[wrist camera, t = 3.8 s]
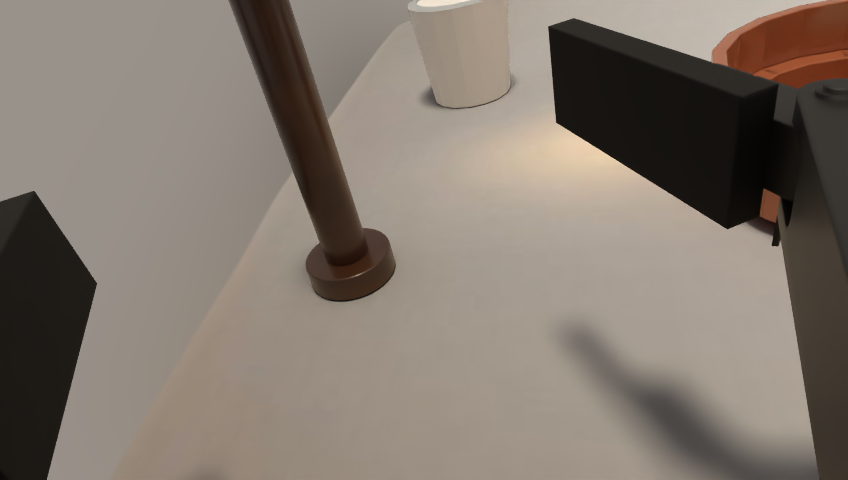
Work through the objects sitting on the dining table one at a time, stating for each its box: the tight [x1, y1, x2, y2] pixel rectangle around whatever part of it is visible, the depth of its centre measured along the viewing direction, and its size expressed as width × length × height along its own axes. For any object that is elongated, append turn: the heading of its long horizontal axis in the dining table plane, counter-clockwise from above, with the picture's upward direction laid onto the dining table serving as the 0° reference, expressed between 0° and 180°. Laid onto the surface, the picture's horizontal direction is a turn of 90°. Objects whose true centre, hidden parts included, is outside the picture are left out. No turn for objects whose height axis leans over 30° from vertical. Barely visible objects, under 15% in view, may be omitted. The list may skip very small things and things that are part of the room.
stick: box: [229, 0, 395, 301], centre depth 22 cm, size 4×4×18 cm
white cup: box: [408, 0, 510, 108], centre depth 41 cm, size 7×7×7 cm
